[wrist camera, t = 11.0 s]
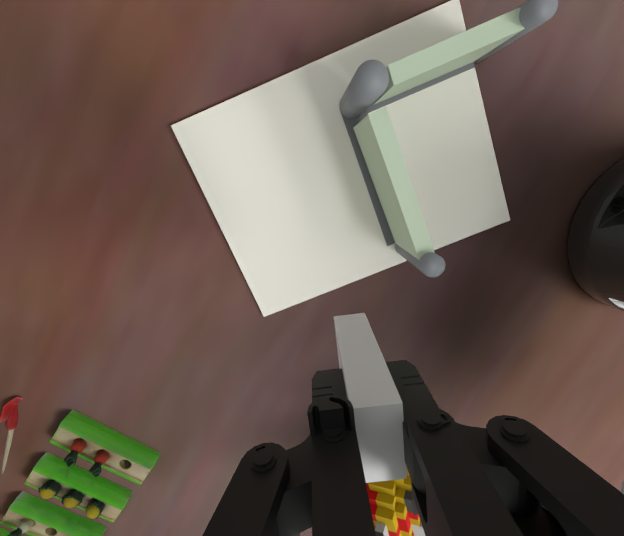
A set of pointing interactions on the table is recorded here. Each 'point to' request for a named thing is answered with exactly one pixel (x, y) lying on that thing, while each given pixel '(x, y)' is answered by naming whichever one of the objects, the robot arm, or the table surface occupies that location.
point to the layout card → (342, 166)
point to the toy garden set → (75, 478)
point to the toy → (393, 508)
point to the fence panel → (397, 192)
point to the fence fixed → (441, 57)
